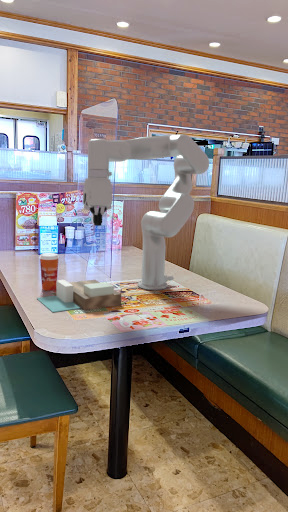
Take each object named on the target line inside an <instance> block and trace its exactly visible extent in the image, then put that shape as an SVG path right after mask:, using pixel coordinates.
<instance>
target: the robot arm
mask: <svg viewBox="0 0 288 512" xmlns="http://www.w3.org/2000/svg"><path fill="white" fill-rule="evenodd" d="M171 157H175V158H174V160H173V161H174V162H173V169H174V179H173V182H172V183H171V184H170V186H169V187H168V189H167V190H166V191H165V192H164V194H163V195H162V196H161V198H160V199H159V201H158V209H159V210H160V211H157V210H151V211H148V212H146V213H145V214H144V215H142V219H141V223H140V225H141V232H142V255H141V256H142V260H141V262H142V263H141V280H139V281H138V282H137V286H138V288H141V289H143V290H149V291H150V290H151V291H160V290H164V289H167V288H168V283H167V282H169V281H173V280H175V279H174V276H173V275H165V271H166V270H165V269H166V268H165V266H166V249H167V245H166V238H172V237H174V236H176V235H177V234H178V233H179V232H180V231H181V229H183V228H182V227H184V225H185V224H186V223H187V221H188V220H189V218H190V217H191V215H192V213H193V211H194V209H195V200H194V197H193V196H192V195H191V192H192V190H193V180H192V175H202V174H204V173H206V172H207V171H208V170H209V167H210V159H209V157H208V155H207V154H206V153H205V151H203V149H202V148H201V147H200V146H199V145H198V144H197V143H196V141H194V139H192V138H191V137H190V136H189V135H187V134H185V133H184V134H183V133H179V134H178V133H177V134H168V135H165V134H164V135H155V136H143V137H142V136H141V137H138V138H137V137H136V138H132V139H123V140H107V139H101V138H99V139H98V138H94V139H89V140H88V143H87V177H86V178H85V179H84V184H83V189H82V190H83V191H82V192H83V193H82V204H83V209H84V210H87V211H89V212H90V213H91V214H92V222H93V225H94V226H97V227H98V226H99V227H101V226H102V223H103V215H104V213H106V211H108V210H111V209H112V207H113V206H112V204H113V190H112V182H111V179H109V178H110V176H112V175H113V173H112V172H111V171H110V169H109V168H110V163H111V162H112V163H114V162H116V163H117V162H125V161H128V160H129V161H130V160H139V161H141V160H155V159H163V158H171Z"/></svg>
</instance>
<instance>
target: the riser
mask: <svg viewBox="0 0 288 512" xmlns="http://www.w3.org/2000/svg"><path fill="white" fill-rule="evenodd" d="M69 283H70V284H72V285H73V302H74V303H75V304H77V305H78V306H79V307H81V308H80V309H82V310H84V311H90V310H95V309H102V307H103V308H108V307H109V308H110V307H114V306H121V305H122V293H120V292H118V291H117V290H115V289H114V294H111V295H104V296H96V297H89V296H88V295H86V294H85V293H84V285H85V284H93V283H101V282H100V281H99V280H96V279H91V280H90V279H89V280H87V279H86V280H80V281H72V282H71V281H70V282H69Z"/></svg>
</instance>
